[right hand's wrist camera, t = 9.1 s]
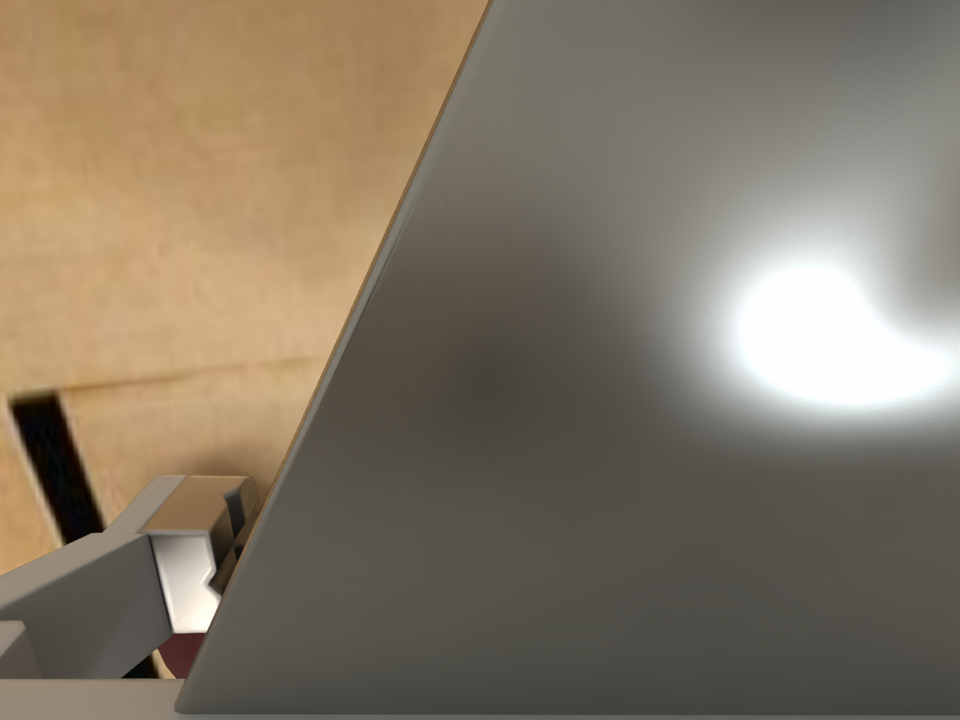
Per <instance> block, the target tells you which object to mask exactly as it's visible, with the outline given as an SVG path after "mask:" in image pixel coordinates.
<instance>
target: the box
mask: <svg viewBox="0 0 960 720" xmlns="http://www.w3.org/2000/svg"><path fill="white" fill-rule="evenodd" d="M174 711H175V712H178V713H181V714H312V715H881V716H960V0H489V1H488V4H487V6H486V8H485V10H484V13H483V15H482V17H481V19H480V22H479V24H478V26H477V28H476V31H475V33H474V35H473V37H472V39H471V42H470V44H469V46H468V48H467V51H466V53H465V55H464V57H463V60H462V62H461V64H460V66H459V69H458V71H457V73H456V75H455V77H454V80H453V82H452V84H451V86H450V89H449V91H448V93H447V95H446V98H445V100H444V102H443V104H442V107H441V109H440V111H439V113H438V115H437V118H436V120H435V122H434V124H433V127H432V129H431V131H430V133H429V136H428V138H427V140H426V142H425V145H424V147H423V149H422V151H421V153H420V156H419V158H418V160H417V162H416V165H415V167H414V169H413V171H412V174H411V176H410V178H409V180H408V183H407V185H406V187H405V189H404V191H403V194H402V196H401V198H400V200H399V203H398V205H397V207H396V209H395V212H394V214H393V216H392V218H391V221H390V223H389V225H388V227H387V230H386V232H385V234H384V236H383V238H382V241H381V243H380V245H379V247H378V250H377V252H376V254H375V256H374V259H373V261H372V263H371V265H370V268H369V270H368V272H367V274H366V276H365V279H364V281H363V283H362V285H361V288H360V290H359V292H358V294H357V297H356V299H355V301H354V303H353V306H352V308H351V310H350V312H349V314H348V317H347V319H346V321H345V323H344V326H343V328H342V330H341V332H340V335H339V337H338V339H337V341H336V344H335V346H334V348H333V350H332V352H331V355H330V357H329V359H328V361H327V364H326V366H325V368H324V370H323V373H322V375H321V377H320V379H319V382H318V384H317V386H316V388H315V390H314V393H313V395H312V397H311V399H310V402H309V404H308V406H307V408H306V411H305V413H304V415H303V417H302V420H301V422H300V424H299V426H298V428H297V431H296V433H295V435H294V437H293V440H292V442H291V444H290V446H289V449H288V451H287V453H286V455H285V458H284V460H283V462H282V464H281V466H280V469H279V471H278V473H277V475H276V478H275V480H274V482H273V484H272V487H271V489H270V491H269V493H268V496H267V498H266V500H265V502H264V504H263V507H262V509H261V511H260V513H259V516H258V518H257V520H256V522H255V525H254V527H253V529H252V531H251V534H250V536H249V538H248V540H247V542H246V545H245V547H244V549H243V551H242V554H241V556H240V558H239V560H238V563H237V565H236V567H235V569H234V572H233V574H232V576H231V578H230V581H229V583H228V585H227V587H226V589H225V592H224V594H223V596H222V598H221V601H220V603H219V605H218V607H217V610H216V612H215V614H214V616H213V619H212V621H211V623H210V625H209V627H208V630H207V632H206V634H205V636H204V639H203V641H202V643H201V645H200V648H199V650H198V652H197V654H196V657H195V659H194V661H193V663H192V665H191V668H190V670H189V672H188V674H187V677H186V679H185V681H184V683H183V686H182V688H181V690H180V692H179V695H178V697H177V699H176V701H175V703H174Z"/></svg>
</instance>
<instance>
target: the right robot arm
mask: <svg viewBox="0 0 960 720" xmlns="http://www.w3.org/2000/svg"><path fill="white" fill-rule="evenodd" d="M258 500H259V497H258V492H257V487H256V482H255V481H254V480H253V479H252V478H251V476H203V475H192V476H190V475H162V476H157V477H154V478H153V480H152V481H151V482H150V483H149V484H148V485H147V486H146V487H145V488H144V489H143V490H142V491H141V492H140V493H139V495H138V496H137V497H136V498H135V499H134V500H133V501H132V502H131V503H130V504H129V505H128V506H127V507H126V508H125V509H124V511H123V512H122V513H121V514H120V515H119V516H118V517H117V518H116V519H115V520H114V521H113V522H112V523H111V524H110V526H109V527H108V528H107V529H106V530H105V531H104V532H103V533H92V534H90V535H87V536H85V537H83V538H81V539H79V540H77V541H74V542H72V543H70V544H68V545H66V546H64V547H62V548H59V549H57V550H55V551H53V552H51V553H49V554H46V555H44V556H42V557H40V558H38V559H36V560H34V561H31V562H29V563H27V564H25V565H23V566H21V567H18V568H16V569H14V570H12V571H10V572H8V573H6V574H3V575H1V576H0V720H960V716H881V715H312V714H181V713H178V712H175V711H174V703H175V701H176V699H177V697H178V695H179V692H180V690H181V688H182V686H183V683H184V681H185V679H120V678H121V677H122V676H124V675H125V674H126V673H127V672H129V671H130V670H131V669H132V668H133V667H135V666H136V665H137V664H138V663H140V662H141V661H142V660H143V659H144V658H146V657H147V656H148V655H149V654H151V653H152V652H153V651H154V650H156V649H157V648H158V647H159V646H160V645H162V644H163V643H164V642H165V641H167V640H168V639H169V638H170V637H171V636H172V635H171V634H172V633H206V632H207V630H208V627H209V625H210V623H211V621H212V619H213V616H214V614H215V612H216V610H217V607H218V605H219V603H220V601H221V598H222V596H223V594H224V592H225V589H226V587H227V585H228V583H229V581H230V578H231V576H232V574H233V572H234V569H235V567H236V565H237V563H238V560H239V558H240V556H241V554H242V551H243V549H244V547H245V545H246V542H247V540H248V538H249V536H250V534H251V531H252V529H253V527H254V525H255V522H256V520H257V518H258V517H257V516H256V515H255V514H254V513H253V512H252V510H253V509H254V507H255V505H256V503H257V502H258Z"/></svg>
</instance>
